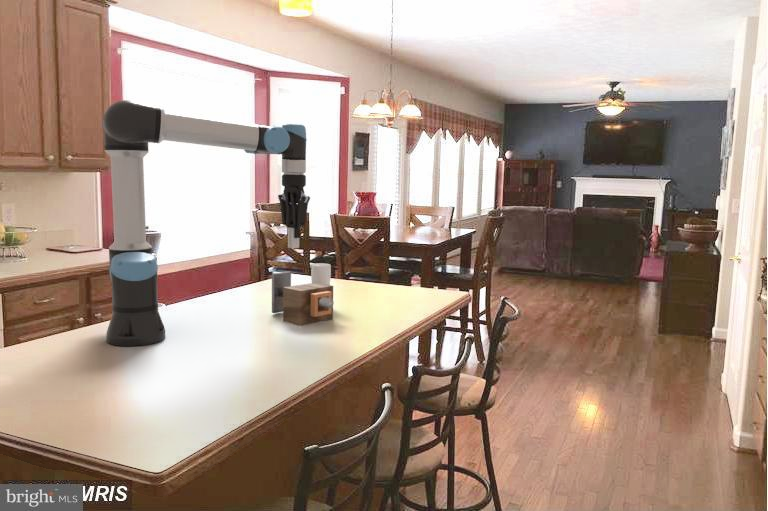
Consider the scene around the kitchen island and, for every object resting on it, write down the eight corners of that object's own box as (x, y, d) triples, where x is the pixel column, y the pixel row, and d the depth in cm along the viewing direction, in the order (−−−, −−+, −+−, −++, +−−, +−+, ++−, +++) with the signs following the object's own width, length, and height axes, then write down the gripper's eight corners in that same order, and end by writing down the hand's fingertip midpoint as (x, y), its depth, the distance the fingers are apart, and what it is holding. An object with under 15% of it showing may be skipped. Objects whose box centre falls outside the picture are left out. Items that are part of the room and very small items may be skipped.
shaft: (321, 325, 194) (321, 283, 192) (271, 312, 210) (271, 273, 208) (338, 322, 199) (338, 281, 197) (288, 309, 215) (288, 271, 213)
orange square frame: (314, 316, 195) (315, 294, 195) (310, 315, 197) (310, 293, 196) (331, 313, 200) (331, 291, 200) (327, 312, 202) (327, 290, 201)
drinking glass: (331, 305, 226) (332, 263, 224) (328, 309, 219) (328, 266, 217) (313, 304, 226) (313, 262, 224) (309, 308, 220) (309, 265, 218)
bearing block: (299, 325, 195) (299, 291, 194) (283, 321, 201) (283, 287, 199) (332, 318, 205) (333, 285, 204) (316, 314, 211) (316, 282, 209)
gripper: (317, 174, 200) (316, 249, 203) (289, 173, 209) (288, 245, 212) (299, 174, 195) (298, 250, 198) (270, 173, 204) (270, 246, 207)
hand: (293, 247), depth 205 cm, fingers closed
